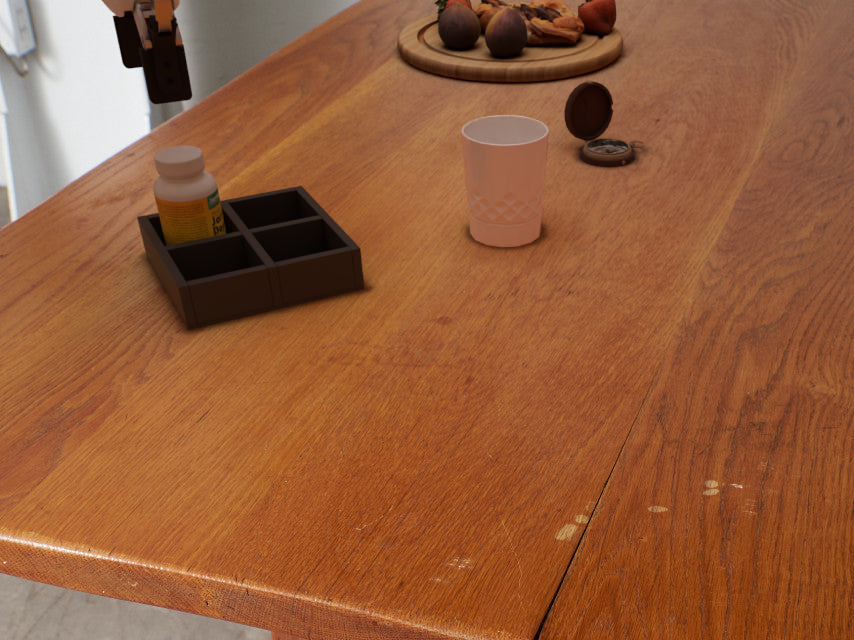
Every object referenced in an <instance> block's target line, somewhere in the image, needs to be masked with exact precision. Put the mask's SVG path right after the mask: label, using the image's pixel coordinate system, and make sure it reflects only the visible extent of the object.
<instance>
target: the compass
mask: <svg viewBox="0 0 854 640" xmlns="http://www.w3.org/2000/svg"><path fill="white" fill-rule="evenodd" d="M613 105H614V100H613V97H612V93H611V92H610V90H609V88H608V87H606V86H605V84H602V83H600V82H597V81H594V80H593V81H591V80H586V81H584V82H582V83H579V84H578V85H577V86H576V87H574V88H573V90H572V91H571V92H570V93H569V95H568V97H567V100H566V103H565V105H564V111H563V113H564V117H563V118H564V123H565V126H566V129H567V130H568V132H569V133H570V134H571V135H572V136H573V137H574V138H575V139H576V138H577V139H579V140H582V141H584V142H585V144H584V145H582V146H581V147H580V148H579V158H580V160H581V161H583V162H585V163H586V164H589V165H591V166H596V167H604V168H605V167H606V168H610V167H612V168H613V167H620V166H625V165H628V164H630V163H631V162H633V161H634V159H635V157H636V151H635V149H634V148H636V149H637V148H638V149H639V148H644V147H645V146H646V143H645V142H644V141H640V140H631V141H629V143H628V142H626V141H624V140H621V139H618V138H609V137H604V138H602V137H601V136H602V135H603V134H604V133H605V132H606V131H607V129H608V128H609V126H610V124H611V122H612V119H613V115H614V109H613ZM599 137H601V138H599ZM636 143H639V144H643V145H637V146H636Z"/></svg>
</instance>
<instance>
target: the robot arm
mask: <svg viewBox="0 0 854 640" xmlns="http://www.w3.org/2000/svg"><path fill="white" fill-rule="evenodd" d="M101 2H102V3H103V5H105V7H106V8H107V9H109V11H110V12H111V13H113V14H114V15H112V20H113V25H114V29H115V33H116V38H117V39H116V40H117V44H118V49H119V54H120V58H121V63H122V65H123V66H124V67H125V68H126V69H128V70H129V69H139V68H142V70H143V75H144V81H145V85H146V90H147V95H148V99H149V101H150V102H151V103H152V104H153V105H163V104H170V103H171V104H172V103H177V102H184V101H185V102H187V101H190V100H191V99H192V98H193V91H192V90H193V89H192V85H191V79H190V72H189V67H188V62H187V57H186V56H187V55H186V51H185V50H186V49H185V44H183V43H184V42H183V37H182V34H181V30H180V27H179V24H178V19H177V16H176V14H175V11H177V9H178V7H179V6H180V0H101Z"/></svg>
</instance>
